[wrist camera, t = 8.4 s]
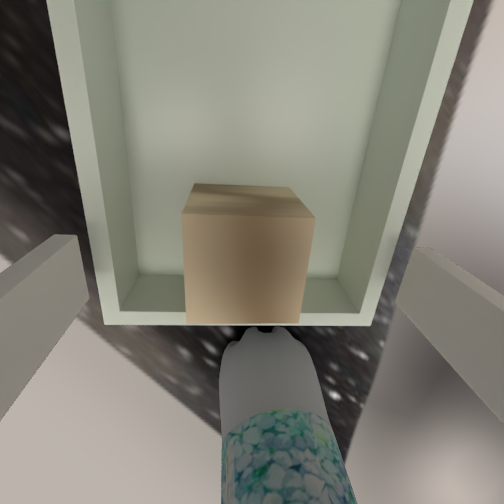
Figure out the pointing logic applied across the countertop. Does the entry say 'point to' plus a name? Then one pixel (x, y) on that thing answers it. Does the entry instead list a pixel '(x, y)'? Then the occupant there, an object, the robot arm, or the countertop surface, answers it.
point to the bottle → (276, 426)
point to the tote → (250, 131)
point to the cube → (245, 254)
